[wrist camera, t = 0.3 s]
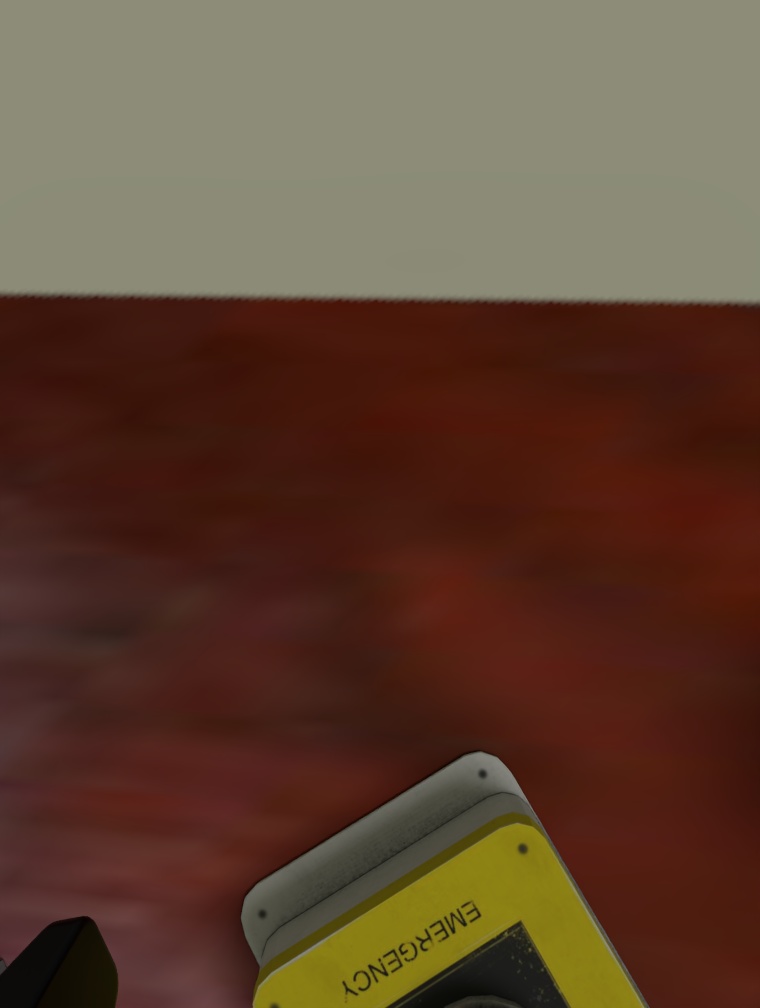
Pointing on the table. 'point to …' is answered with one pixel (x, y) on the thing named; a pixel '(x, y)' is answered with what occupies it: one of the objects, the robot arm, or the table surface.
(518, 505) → the table surface
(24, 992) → the robot arm
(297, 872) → the emergency button
